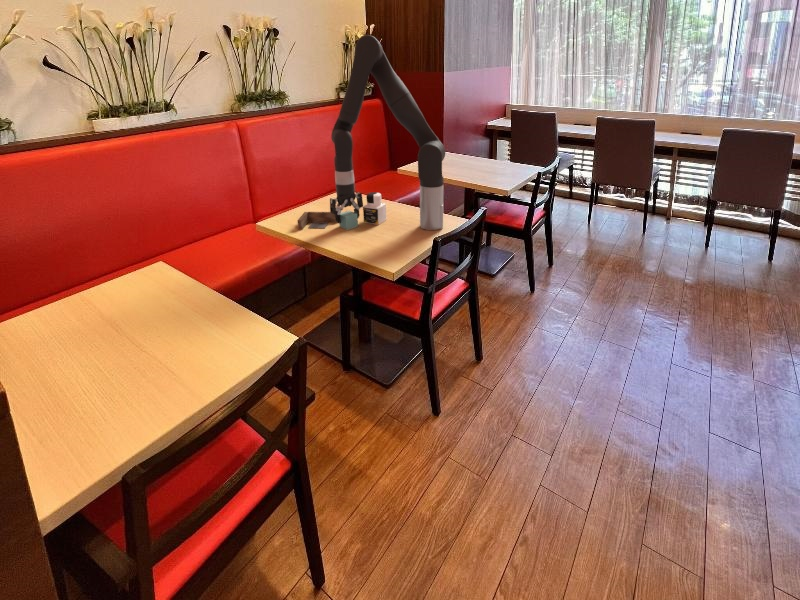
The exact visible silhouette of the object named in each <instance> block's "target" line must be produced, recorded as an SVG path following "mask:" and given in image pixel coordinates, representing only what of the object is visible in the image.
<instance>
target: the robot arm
mask: <svg viewBox="0 0 800 600" xmlns="http://www.w3.org/2000/svg"><path fill="white" fill-rule="evenodd" d="M370 74H371V76H372V77H373V78H374V80H375V82H376V83H377V85H378V87H379V90H380V92H381V95H382V96H383V99H384V101H385V103H386V104H387V107H388V108H389V110H390V111H391V113H392V114H393V116H394V118H395V119H396V120H397V121H398V122H399V124H400V125H401V126H402V127H404V129H405V130H407V131H408V132H409V134H411V136H412V137H413V139H414V141H415V142H416V144H417V146H418V147H419V150H418V154H417V175H418V176H417V177H418V180H419V218H420V219H419V225H420V228H421V229H423V230H427V231H436V230H442V229H443V228H444V181H445V180H444V176H443V161H444V159H445V157H446V149H445V146H444V144H443V143H442V141H441V140H440V139H439V137H438V136H437V135H436V134H435V132H434V131H433V129H432V128H431V127H430V125H429V123H428V122H427V120H426V118H425V116H424V114H423V112H422V111H421V109H420V108H419V106H418V104H417V102H416V99H414V97H413V96H412V94H411V92H410V91H409V89H408V87H407V86H406V85H405V83H404V82H403V80H402V79H401V78H400V76H398V75H397V73H396V72H395V71H394V69H393V67H392V65H391V63H390V62H389V60H388V58H387V55H386V53H385V52H384V49H383V46H382V44H381V42H380V40H378V38H376V37H375V36H373V35H370V34H365V35H362V36H360V37H359V38H358V40H357V41H356V43H355V49H354V55H353V63H352V68H351V72H350V78H349V81H348V85H347V88H346V90H345V94H344V97H343V100H342V104H341V106H340V110H339V113H338V114H339V115H338V116H337V119H336V121H335V123H334V126H333V128H332V131H331V141H332V143H333V145H334V154H335V155H334V161H333V163H334V179H335V180H334V181H335V182H334V184H335V192H336V193H335V194H336V197H335V198H332V197H331V198H329V212H331V213H333V214H335V219H336V222H335V223H337V224H339V223H341V215H340V213H342V211H343V210H344V208H347V207H351V206H352V207H353V212H354V213H356V214H357V217H358V219H360V218H359V217H360V209H361V208H363V206H364V202H363V194H362V193H361V192H359V191H357V192H356V188H355V187H356V183H355V174H354V163H353V162H354V161H353V148H354V147H353V146H354V142H353V137H352V134H351V133H352V130H353V129H354V125H355V124H356V123H357V121H358V119H359V116H360V113H361V109H362V107H363V104H364V98H365V94H366V88H367V85H368V81H369V78H370ZM355 200H356V201H355Z"/></svg>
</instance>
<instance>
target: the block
mask: <svg viewBox="0 0 800 600" xmlns="http://www.w3.org/2000/svg"><path fill="white" fill-rule="evenodd" d="M340 215H341V223H338V224H339V227H340V228H342V229H344V230H346V231H349V230H352V229H354V228H358V227H359V220H358V219H359V218H358V217H357V214H356V213H354V211H351V210H348V211H344V212H341V213H340Z"/></svg>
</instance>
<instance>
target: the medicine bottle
mask: <svg viewBox="0 0 800 600" xmlns="http://www.w3.org/2000/svg"><path fill="white" fill-rule="evenodd" d="M362 210H363V211H362V213H363V214H362V215H363V222H364V224H370V225H375V226H377V225H378V226H379V225H381V224H382V223H384V222H385V221H386V220H387V203H382V194H381V193H380V192H377V191H376V192H375V191H373V192H368V193H367V194H366V204H365V205H363V207H362Z"/></svg>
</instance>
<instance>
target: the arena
mask: <svg viewBox="0 0 800 600" xmlns="http://www.w3.org/2000/svg"><path fill="white" fill-rule="evenodd" d="M296 221H297V228H298V230H299V231H303V230H304V228H305V227H306V226H307V224H308V223H309V222H311V224H310V225H309V226H308V229H320V230H321V229H326V228H327V226H328V225H329V222H330V223H332V222H335V223H337V222H336V219H335V214H333V213H331V212H330V211H304V212H303V213H302V214H301V216H300V217H299V218H297V220H296Z"/></svg>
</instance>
